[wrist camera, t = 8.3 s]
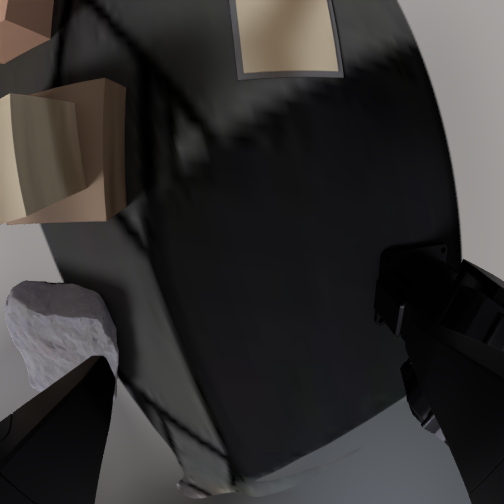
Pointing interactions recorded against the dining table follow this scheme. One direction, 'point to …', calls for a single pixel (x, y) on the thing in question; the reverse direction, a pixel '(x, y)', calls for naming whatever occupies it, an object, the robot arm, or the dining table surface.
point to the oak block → (37, 154)
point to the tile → (285, 39)
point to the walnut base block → (92, 153)
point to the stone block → (59, 329)
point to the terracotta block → (23, 26)
